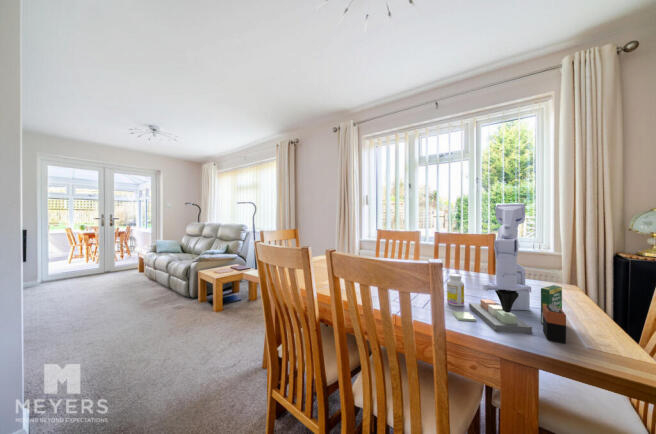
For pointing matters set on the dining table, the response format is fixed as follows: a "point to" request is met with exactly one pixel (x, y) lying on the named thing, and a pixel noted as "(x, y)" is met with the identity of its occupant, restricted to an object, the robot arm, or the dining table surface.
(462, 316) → the tile
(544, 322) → the battery
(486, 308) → the terracotta button
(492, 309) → the cream button
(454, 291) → the supplement bottle
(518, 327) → the button board
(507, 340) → the dining table surface
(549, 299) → the coffee box
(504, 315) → the sage button
